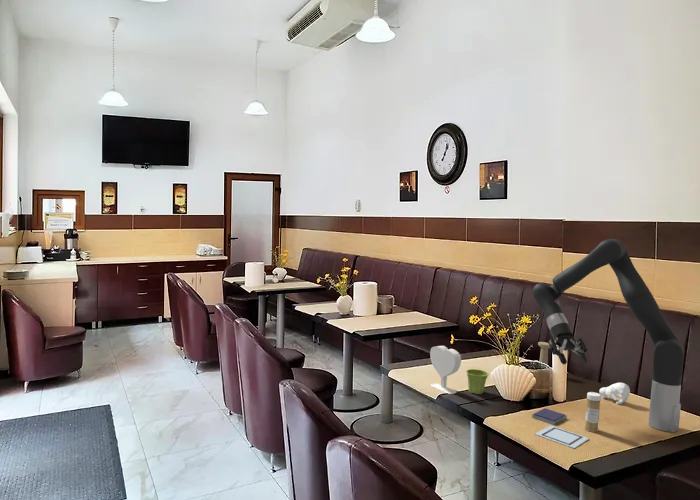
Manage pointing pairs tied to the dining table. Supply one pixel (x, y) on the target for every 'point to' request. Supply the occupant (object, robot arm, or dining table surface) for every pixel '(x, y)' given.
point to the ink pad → (549, 416)
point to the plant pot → (476, 380)
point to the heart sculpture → (445, 365)
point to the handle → (544, 352)
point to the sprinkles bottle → (592, 411)
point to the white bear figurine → (616, 392)
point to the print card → (562, 436)
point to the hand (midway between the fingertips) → (574, 363)
